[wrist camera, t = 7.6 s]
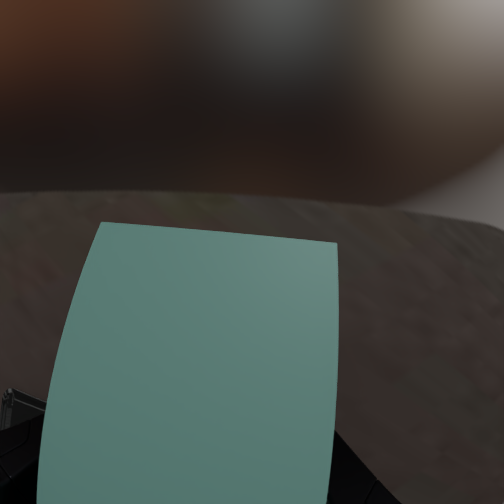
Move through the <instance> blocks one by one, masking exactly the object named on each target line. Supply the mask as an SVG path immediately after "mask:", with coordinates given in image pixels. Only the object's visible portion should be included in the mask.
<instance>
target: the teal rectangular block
mask: <svg viewBox="0 0 504 504" xmlns="http://www.w3.org/2000/svg"><path fill="white" fill-rule="evenodd" d="M338 324H339V305H338V257H337V243H330V242H320V241H311V240H301V239H291V238H281V237H271V236H260V235H250V234H239V233H228V232H217V231H206V230H194V229H183V228H171V227H159V226H147V225H134V224H122V223H108V222H101V224H100V226H99V229H98V231H97V234H96V236H95V239H94V241H93V244H92V246H91V249H90V251H89V254H88V257H87V259H86V262H85V265H84V268H83V270H82V273H81V276H80V279H79V282H78V285H77V288H76V291H75V294H74V297H73V300H72V303H71V306H70V310H69V313H68V316H67V320H66V323H65V327H64V330H63V334H62V338H61V341H60V345H59V349H58V353H57V357H56V361H55V366H54V370H53V375H52V379H51V384H50V389H49V394H48V400H47V405H46V411H45V417H44V424H43V431H42V438H41V447H40V456H39V467H38V482H37V504H326V500H327V493H328V485H329V477H330V468H331V459H332V448H333V437H334V425H335V410H336V393H337V371H338Z"/></svg>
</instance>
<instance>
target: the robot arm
mask: <svg viewBox="0 0 504 504" xmlns="http://www.w3.org/2000/svg"><path fill="white" fill-rule="evenodd" d="M44 417H45V413H43V414H41V415H38V416H36V417H34V418H32V419H31V420H30V419H29V420H27V421H24V422H22V423H20V424H17V425H15V426H12V427H10V428H7V429H4V430H1V431H0V504H37V482H38V467H39V456H40V447H41V438H42V431H43V424H44ZM326 504H402V503H400V502H399V501H398V500H397V499H396V498H395V497H394V496H393V495H392V494H391V493H390V492H389V491H388V490H387V489H386V488H385V487H384V485H383V484H382V483H381V482H380V481H379V480H377V478H376V477H375V476H374V475H373V473H372V472H371V471H370V470H369V469H368V468H367V467H366V465H365V464H364V463H363V462H362V461H361V460H360V459H359V458H358V456H357V455H356V454H355V453H354V452H353V451H352V449H351V448H350V447H349V446H348V445H347V444H346V442H345V441H344V440H343V439H342V438H341V437H340V435H339V434H338V433H337V432H336V431H335V430H334V437H333V448H332V459H331V468H330V477H329V485H328V493H327V500H326Z"/></svg>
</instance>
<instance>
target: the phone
mask: <svg viewBox="0 0 504 504" xmlns="http://www.w3.org/2000/svg"><path fill="white" fill-rule="evenodd" d="M46 405H47V402H46V401H43V400H41V399H38V398H36V397H33V396H31V395H29V394H26V393H24V392H22V391H19V390H16V389H12V388H10V389H7V390H6V391H5V393H4V394H3V398H2V405H1V413H0V431H1V430H4V429H7V428H10V427H12V426H15V425H17V424H20V423H22V422H24V421H27V420H29V419H30V420H31V419H32V418H34V417H36V416H38V415H41V414H43V413H45V411H46Z"/></svg>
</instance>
